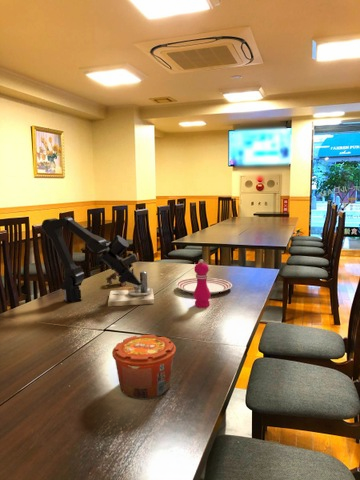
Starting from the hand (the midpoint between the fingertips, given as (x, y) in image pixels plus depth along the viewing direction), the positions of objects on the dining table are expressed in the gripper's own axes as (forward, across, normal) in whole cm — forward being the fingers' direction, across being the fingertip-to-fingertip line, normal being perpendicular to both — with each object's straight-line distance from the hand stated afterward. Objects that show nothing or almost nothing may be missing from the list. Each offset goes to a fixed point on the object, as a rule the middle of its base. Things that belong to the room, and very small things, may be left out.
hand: (140, 284), depth 164 cm
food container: (+7, -72, +5) cm, 72 cm away
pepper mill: (+24, -10, -13) cm, 29 cm away
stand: (+3, +5, +8) cm, 10 cm away
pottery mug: (-3, +33, +14) cm, 36 cm away
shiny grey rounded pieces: (+3, +5, +5) cm, 8 cm away
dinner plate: (+28, +14, -16) cm, 35 cm away
